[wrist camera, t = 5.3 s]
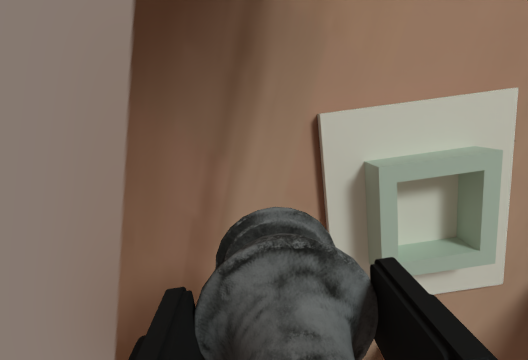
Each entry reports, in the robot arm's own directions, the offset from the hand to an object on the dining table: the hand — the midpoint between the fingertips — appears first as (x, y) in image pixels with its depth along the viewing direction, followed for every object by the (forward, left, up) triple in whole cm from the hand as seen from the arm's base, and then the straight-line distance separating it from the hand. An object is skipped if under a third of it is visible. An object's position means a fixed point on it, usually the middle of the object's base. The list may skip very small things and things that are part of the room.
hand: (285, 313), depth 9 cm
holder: (+4, +15, -18) cm, 24 cm away
